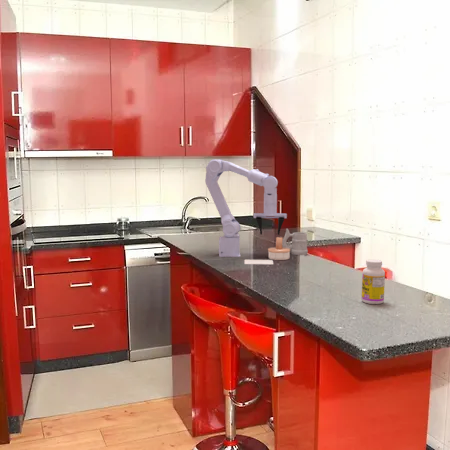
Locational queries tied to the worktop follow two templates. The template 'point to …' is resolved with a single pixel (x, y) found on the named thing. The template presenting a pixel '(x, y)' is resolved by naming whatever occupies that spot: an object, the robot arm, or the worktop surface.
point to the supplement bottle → (373, 282)
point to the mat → (258, 262)
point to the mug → (296, 242)
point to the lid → (278, 247)
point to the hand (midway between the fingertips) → (269, 234)
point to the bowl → (279, 256)
